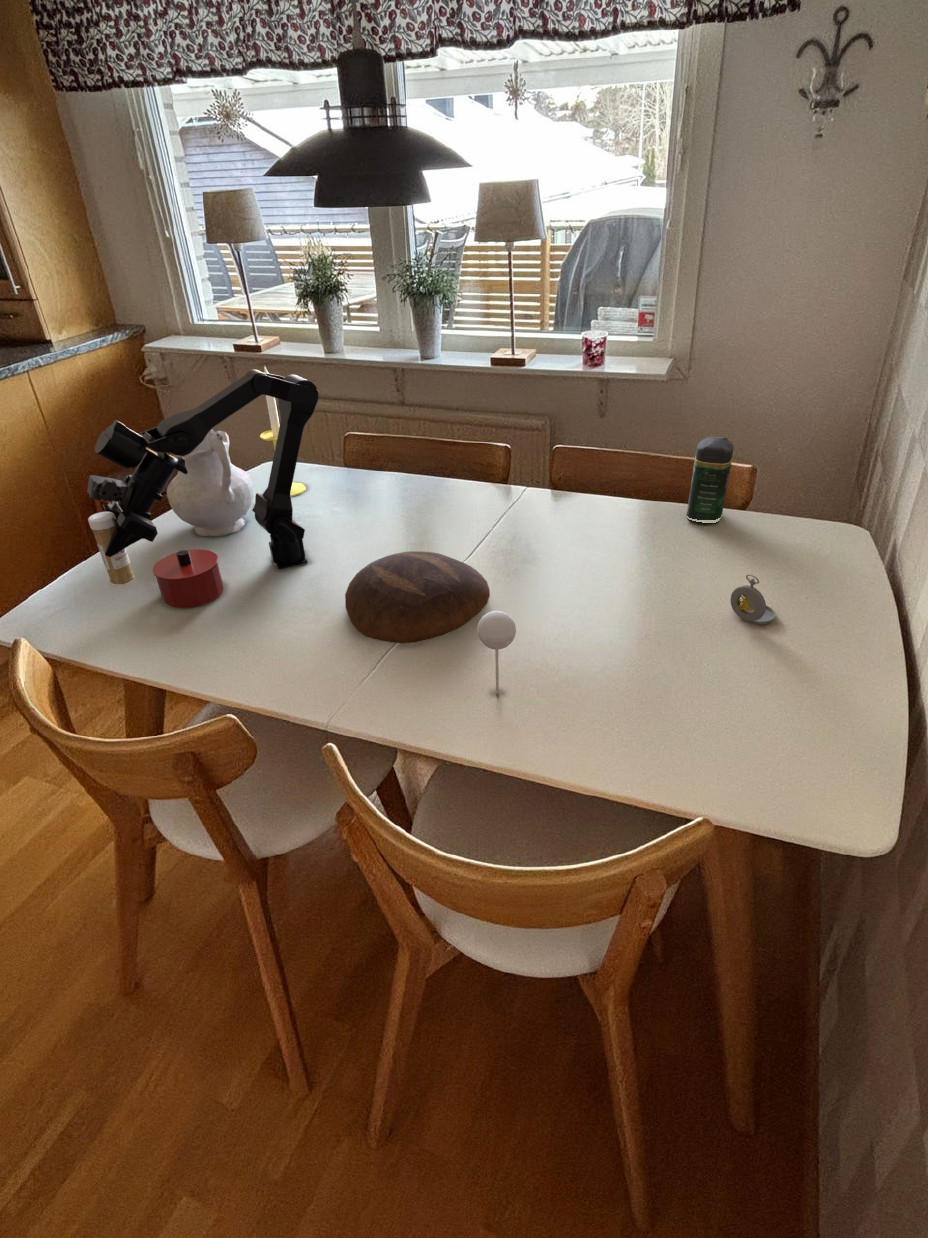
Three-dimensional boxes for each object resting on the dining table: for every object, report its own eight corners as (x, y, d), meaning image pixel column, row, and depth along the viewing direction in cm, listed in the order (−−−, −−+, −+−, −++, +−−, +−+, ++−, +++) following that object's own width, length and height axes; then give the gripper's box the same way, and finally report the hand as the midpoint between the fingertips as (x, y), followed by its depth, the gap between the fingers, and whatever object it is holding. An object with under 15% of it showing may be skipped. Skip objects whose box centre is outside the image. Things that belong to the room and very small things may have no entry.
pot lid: (205, 547, 151) (201, 532, 149) (229, 568, 143) (225, 553, 141) (144, 567, 145) (139, 551, 143) (166, 590, 136) (161, 574, 134)
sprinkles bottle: (132, 584, 137) (110, 519, 130) (107, 586, 137) (84, 522, 129) (138, 572, 141) (117, 509, 134) (114, 575, 140) (91, 511, 133)
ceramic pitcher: (282, 526, 175) (270, 423, 164) (219, 553, 161) (200, 442, 149) (222, 510, 186) (205, 412, 174) (157, 533, 171) (135, 428, 159)
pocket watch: (774, 609, 134) (785, 562, 128) (775, 634, 127) (786, 584, 122) (727, 603, 136) (736, 556, 131) (726, 627, 129) (735, 578, 124)
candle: (261, 497, 189) (236, 369, 171) (276, 482, 197) (253, 359, 180) (298, 498, 187) (276, 369, 170) (311, 483, 196) (291, 359, 178)
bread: (425, 559, 156) (422, 522, 151) (519, 602, 139) (519, 562, 134) (315, 610, 139) (308, 570, 135) (407, 666, 123) (403, 623, 118)
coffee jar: (719, 528, 163) (733, 449, 153) (683, 524, 166) (694, 445, 156) (723, 512, 171) (736, 435, 161) (689, 507, 173) (700, 432, 163)
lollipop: (477, 682, 118) (474, 604, 110) (512, 680, 118) (512, 601, 110) (481, 706, 113) (478, 626, 105) (518, 703, 113) (518, 623, 105)
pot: (210, 573, 154) (203, 546, 150) (232, 594, 146) (226, 566, 143) (155, 592, 148) (146, 564, 144) (175, 614, 140) (167, 586, 136)
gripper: (96, 445, 135) (53, 515, 136) (118, 473, 121) (70, 551, 122) (151, 474, 142) (109, 541, 143) (177, 504, 129) (132, 577, 130)
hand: (104, 551), depth 135 cm, fingers closed on sprinkles bottle, 4 cm apart
